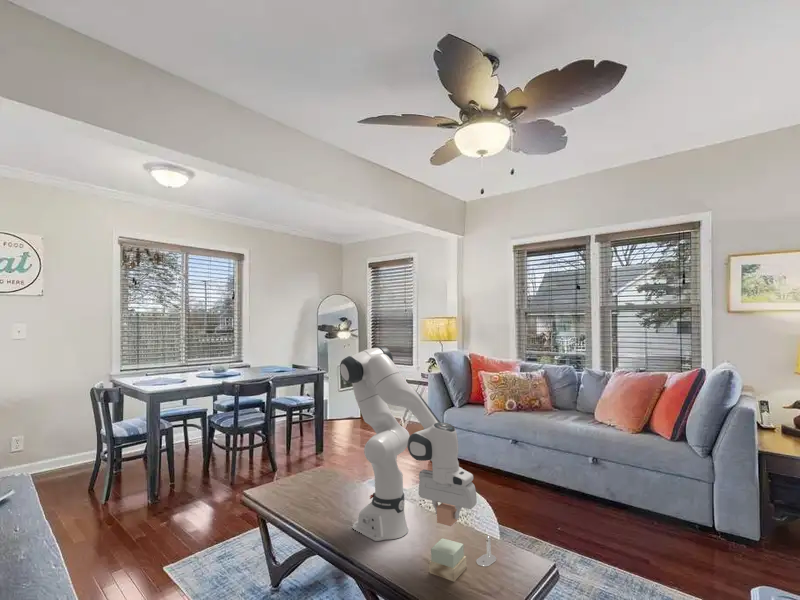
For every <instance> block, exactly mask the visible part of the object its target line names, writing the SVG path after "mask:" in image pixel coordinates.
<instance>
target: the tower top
mask: <svg viewBox="0 0 800 600" xmlns="http://www.w3.org/2000/svg"><path fill="white" fill-rule="evenodd" d="M464 548H465V546H464V543H462V542H458V541H453V540H451V539H447V538H443V537H442V538H441V539H439V541H437V542H436V543H435V544H434V545H433V546H432V547H431V548H430V560H431V561H432V562H435V563H438V564H442V565H445V566H448V567H451V568H454V567H455V566H456V565H457V564H458V563H459V561H460V560H461V559H462V558H463V557H464V556H465V549H464Z"/></svg>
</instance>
